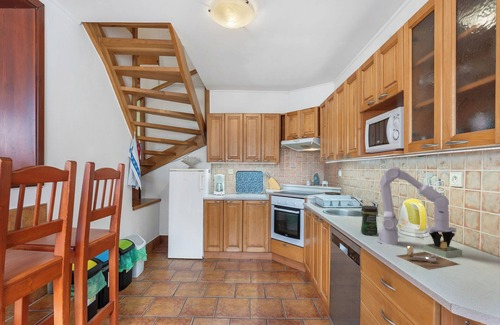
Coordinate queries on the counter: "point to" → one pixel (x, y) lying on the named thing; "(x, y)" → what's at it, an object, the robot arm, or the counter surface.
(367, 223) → the coffee jar
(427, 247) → the tray
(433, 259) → the crank
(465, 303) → the counter surface
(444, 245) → the pin
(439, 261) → the crank base
